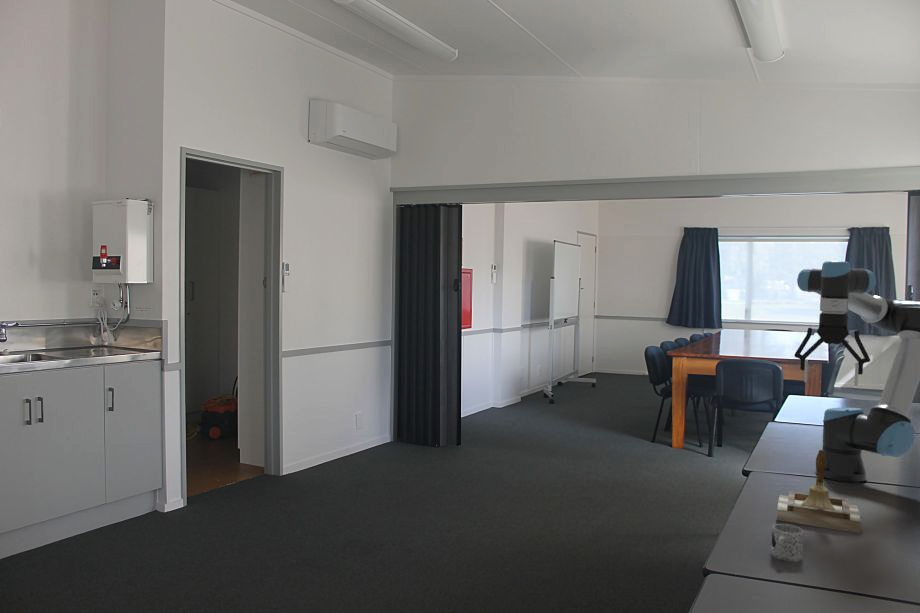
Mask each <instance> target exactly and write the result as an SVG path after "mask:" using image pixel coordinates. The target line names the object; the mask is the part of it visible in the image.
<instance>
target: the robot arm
mask: <svg viewBox="0 0 920 613" xmlns="http://www.w3.org/2000/svg"><path fill="white" fill-rule="evenodd" d="M796 283H797V286H798V288H799V290H801V291H802V292H807V293H816V294H818V295H819V296H820V298H819V299H820V300H819V302H820V303H819V311H820V313H819V322H818V328H812V327H808V328H807V331H806V335H805V337H804V338H803V340H802V341H801V343H800V345H799V347H798V348H797V349H796V351H795V353H794V358H797V359H799V360H800V371H804V373H803V382H804V383H808V361H809V360H808V359H807V358H808V357H809V356H810V355H811V354H812V353H813V352H815V350H816V349H817V348H819V346H820V345H822V344H823V343H825V344H827V345H830V344H832V345H833V344H834V345H839V344H842V345H843V346H844V347H845V348H846V350H848V352H849V353H850V354H851V355H852V357H853V358H854V359H855V360H856V362H855V363H854V387H855V386H856V387H858V383H859V375H863V373H864V372H863V371H864V364H866V363H869V362H871V358H870V356H869V354H868V352H867V350H866V348H865V346H864V344H863V342H862V340H861V338H860V331H859V330H858V329H855V330H848V320H849V319H848V314H847V313H848V312H849V311H851V312H853V313H855V314H856V315H859V317H860V318H861V320H862V321H864V322H865V323H867V324H870V325H871V326H873V327H876V328H877V329H880V330H883V331H884V332H888V333H891V334H896V335H898V338H899V339H900V344H899V347H898V348H897V351H896V354H895V357H894V359H893V363H892V366H891V368H890V371H889V373H888V376H887V379H886V382H885V384H884V388H883V390H882V393H881V395H880V399H879V401H878V404H877V405H874V406H871V408H870V411H869V413H868V414H865V412H864V409H863V408H861V407H860V408H859V407H830V408H827V409H826V410H825V411H824V414H823V420H822V423H823V426H822V429H823V430H822V448H821V450H824V452H825V456H826V467H825V470H824V473H823V479H824V478H825V479H827V480H832V481H838V482H846V483H860V482H865V481H866V480H867V471H866V467H865V464H864V461H863V457H862V451H864V452H869V453H871V454H877V455H881V456H882V457H891V458H898V457H902V456H904V455H906V454H907V453H908V452H909V451H910V450H911V448H912V447H913V444H914V441H915V434H916V431H915V428H914V426H913V424H911V423H912V419H911V417H910V416H909V411H910V409H911V406H912V403H913V400H914V397H915V395H916V392H917V389H918V386H919V383H920V300H908V299H906V300H903V299H889V298H884V297H882V296H878V295H872V294H870V292H872V291H873V290H874V289H875V287H876V285H877V277H876V274H874V272H873V271H872V270H870V269H865V268H851V263H850V262H849V261H844V260H843V261H837V260H829V261H824V262H823V263H822V267H821V268H815V267H811V268H804V269H801V271H799V273H798V276H797V281H796ZM816 333H817V334H818V336H819V338H818V340H817V341H816V342H815V343H813V344H812V346H810V347H809V348H808V349H807V350H806V351H805V352H803V354H801V353H802V351H804V348H805V347H806V345H807V344H808V342H809V341H810V339H811V336H815V334H816ZM848 336H851V338H854V340H855V342H856V344H857V346H858V348H859V350H860V352H861V355H862V356H863V358H861V356H860V355H859V354H858V353H857V352H856V350H854V349H853V347H852V346H851V345H850V344H849V342H848V341H847V340H846V338H847V337H848ZM815 474H816V475H817V469H816V468H815Z"/></svg>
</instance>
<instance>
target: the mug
mask: <svg viewBox="0 0 920 613" xmlns="http://www.w3.org/2000/svg"><path fill="white" fill-rule="evenodd" d="M803 546H804V529H803V528H801V527H799V526H797V525H793V524H787V523H776V524H773V525H772V531H771V550H770V551H771V552H770V554H771V556H772V557H773V558H775V559H777V560H780V561H784V562H791V563H793V562H794V563H797V562H801V561H802V560H803Z"/></svg>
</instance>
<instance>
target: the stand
mask: <svg viewBox="0 0 920 613" xmlns="http://www.w3.org/2000/svg"><path fill="white" fill-rule="evenodd" d="M808 495H809V493H806V492H799V491H798V492H797V491H791V490H789V492H788V495H783V494H779V497H778V503H777V507H776V508H777V509H776V521H779V520H780V522H787V523H793V524H800V525H805V526H812V527H818V528H824V529H825V528H826V529H833V530H838V531H843V532H851V533H858V534H861V529H862V528H861V525H862V523H861V522H862V520H861V515H860V509H859V506H858V505H854V504H853V505H852V504H849V499H848V498H843V497H834V496H829V500H830V503H831V504H832V506H833V507H834V508H835V511H834V510H827V509H820V508H813V507H806V506H802V505H801V504H802V503H803V502H804V501H805V500H806V499H807V497H808Z"/></svg>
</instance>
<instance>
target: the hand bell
mask: <svg viewBox="0 0 920 613" xmlns="http://www.w3.org/2000/svg"><path fill="white" fill-rule="evenodd" d="M825 467H826V456H825V452H824V450H822V449H819V450H818V452H817V455H816V457H815V470H816V469H817V474H816V480H815V481H816V482H815V485H811V486H810V487H809V493H808V494H809V495H808V497H807V499H806V500H805V501H804V502H803V503H802V504H801V505H802V506H806V507H813V508H820V509H827V510H834V511H835V508H834V507H833V506H832V504H831V503H830V500H829V497H830V496H829V489H828V488H826V487H825V486H824V477H823V473H824V470H825Z"/></svg>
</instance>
